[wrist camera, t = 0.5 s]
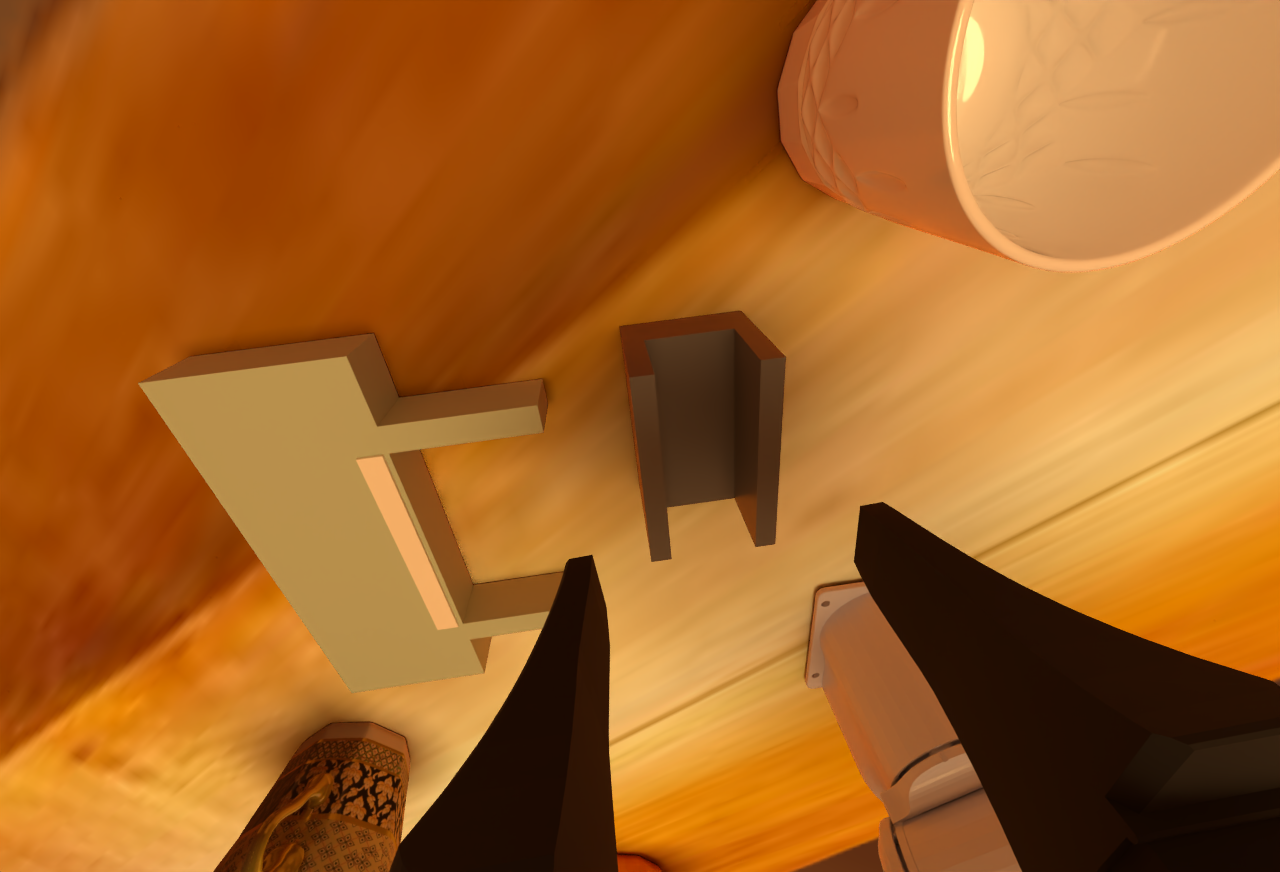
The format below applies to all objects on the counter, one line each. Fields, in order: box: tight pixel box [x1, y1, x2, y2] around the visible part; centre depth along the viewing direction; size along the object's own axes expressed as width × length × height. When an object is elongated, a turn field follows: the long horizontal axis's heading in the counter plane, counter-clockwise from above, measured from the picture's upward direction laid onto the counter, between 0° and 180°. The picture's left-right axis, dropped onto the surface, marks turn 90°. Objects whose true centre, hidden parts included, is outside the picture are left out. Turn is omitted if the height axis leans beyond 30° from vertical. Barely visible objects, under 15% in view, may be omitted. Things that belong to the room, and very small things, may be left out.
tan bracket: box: [138, 333, 564, 693], centre depth 22 cm, size 18×13×3 cm
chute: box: [620, 311, 786, 562], centre depth 20 cm, size 8×5×5 cm, turn 6°
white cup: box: [777, 0, 1280, 272], centre depth 12 cm, size 8×8×10 cm
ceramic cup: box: [214, 722, 410, 872], centre depth 27 cm, size 13×10×10 cm
